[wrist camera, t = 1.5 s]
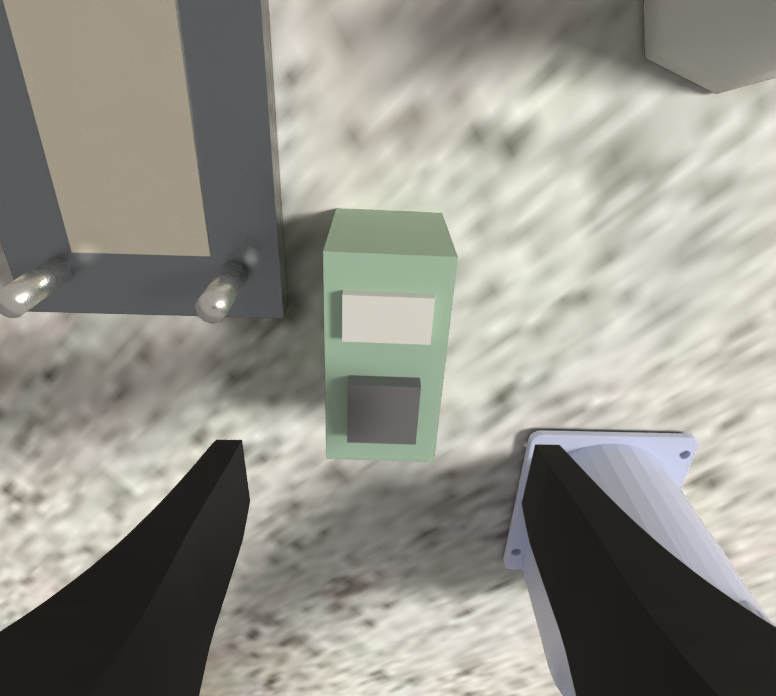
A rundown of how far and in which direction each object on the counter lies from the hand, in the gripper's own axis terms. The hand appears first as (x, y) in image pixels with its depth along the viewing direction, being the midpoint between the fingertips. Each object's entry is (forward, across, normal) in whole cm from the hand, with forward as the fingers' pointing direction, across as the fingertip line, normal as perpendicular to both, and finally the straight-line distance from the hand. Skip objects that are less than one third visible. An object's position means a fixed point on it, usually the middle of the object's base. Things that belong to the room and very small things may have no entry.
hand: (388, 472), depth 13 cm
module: (+10, 0, 0) cm, 10 cm away
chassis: (+10, +9, -7) cm, 15 cm away
